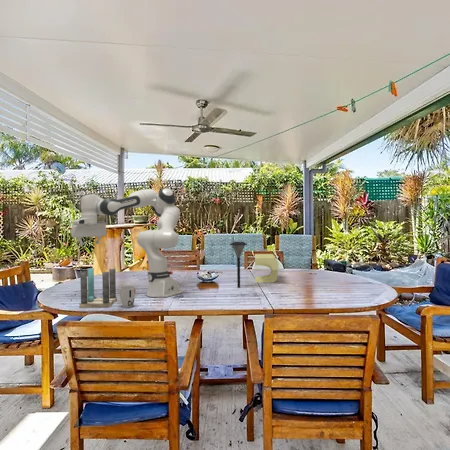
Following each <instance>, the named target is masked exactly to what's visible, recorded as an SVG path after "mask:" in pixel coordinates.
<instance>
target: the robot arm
mask: <svg viewBox="0 0 450 450" xmlns="http://www.w3.org/2000/svg"><path fill="white" fill-rule="evenodd" d="M175 202H176V196H175V192H174V190H173V189H171V188H169V187H162V188H161V189H160V190H159V191H158V193H157V191H156V190H155V189H152V188H149V189H147V188H145V189H139V190H136V191H133V192H130V193H129V195H128V196H127V197H123V198H118V199H116V198H111V197H110V198H109V197H108V198H105V199H104V198H102V197H100V196H98V195H97V194H96V193H86V194H84V195H82V196H81V199H80V210H81V214H80V218H77V219H74V220H72V224H73V225H72V226H71V230H70V235H71V238H77V240H78V241H79V245H80V246H84V245H85V244H84V241H83V240H82V238H88V237H89V238H90V237H91V238H92V237H96V238H97V240H95V245H100V240H101V239H102V237H106V236H107V233H108V232H107V222H106V221H104V220H98V215H99V216H114V215H116V214H118V212H120V211H122V210H126V209H129V208H134V209H139V208H144V207H147V206H151V210H152V211H153V213H154V215H156V216H157V217H159V219H158V220H157V221H156V227H157V229H148V230H146V229H145V230H142V231H139V233H138V234H137V238H136V239H137V244H138V246H139V247H141V248H142V249H143V251H144V252H145V254H146V257H147V261H148V272H147V280H148V282H147V283H148V284H147V291H146V296H147V297H152V298H169V297H173V296H176V295H179V294H182V293H184V290H182V289H180V285H179V283H178V281H177V280H176V279H174V278H172V277H171V276H170V275H173V274H174V272H173V271H172V270H168V259H167V256H165V255H164V254H162V252H161V251H160V249H172V248H175V247H176V246H177V245H178V243H179V235H178V234H177V233H176V231H175V227H176V226H177V223H178V221H179V218H180V215H181V210H180V208H179V207H177V206H176V205H175Z"/></svg>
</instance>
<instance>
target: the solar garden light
mask: <svg viewBox="0 0 450 450" xmlns="http://www.w3.org/2000/svg"><path fill="white" fill-rule="evenodd" d="M229 246H232V248H233V251H234V253H235V256H236V258H237V259H236V263H237V264H236V267H237V268H236V269H237V275H236V276H237V278H236V280H237V281H236V282H237V284H236V285H237V289H240V288H241V255H242V253H243V251H244V248H245V246H248V244H247V242H244V241H232V242H231V243H230V244H229Z"/></svg>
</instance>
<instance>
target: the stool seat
mask: <svg viewBox="0 0 450 450" xmlns="http://www.w3.org/2000/svg"><path fill="white" fill-rule="evenodd" d="M108 270H109V271H103V272H102V277H101V278H102V297H101V296H99V297H97V296H94V300H93V301H88V271H87V272H86V271H84V272H83V271H81V272H80V274H79V276H80V303H79V304H78V305H79V308H80V309H93V308H95V309H100V308H103V309H105V308H110V307H112V305H114V304H115V303H116V302H118V297H117V295H116V293H117V292H116V291H117V289H116V287H117V286H116V285H117V284H116V283H117V282H116V268H109V269H108Z"/></svg>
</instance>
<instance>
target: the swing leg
mask: <svg viewBox="0 0 450 450" xmlns="http://www.w3.org/2000/svg"><path fill="white" fill-rule="evenodd" d="M94 297H95V269H94V267H90V268H87V299H88V301H93V300H94Z"/></svg>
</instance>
